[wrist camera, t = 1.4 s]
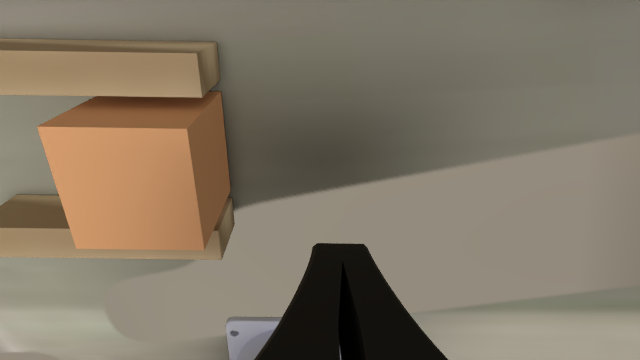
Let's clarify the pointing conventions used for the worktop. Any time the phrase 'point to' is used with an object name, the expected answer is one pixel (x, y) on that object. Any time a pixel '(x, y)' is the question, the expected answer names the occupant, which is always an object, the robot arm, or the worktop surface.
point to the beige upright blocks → (99, 80)
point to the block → (140, 170)
